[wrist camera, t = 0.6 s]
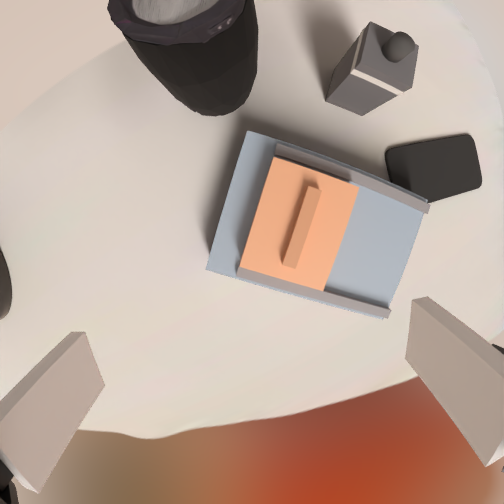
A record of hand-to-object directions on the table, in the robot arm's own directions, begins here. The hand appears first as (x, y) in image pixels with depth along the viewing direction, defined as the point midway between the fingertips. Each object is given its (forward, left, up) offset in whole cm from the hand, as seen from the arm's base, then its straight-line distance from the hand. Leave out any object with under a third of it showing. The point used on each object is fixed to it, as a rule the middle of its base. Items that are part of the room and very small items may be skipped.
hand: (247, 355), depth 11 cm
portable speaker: (-9, +16, -23) cm, 29 cm away
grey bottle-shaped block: (+5, +20, -23) cm, 31 cm away
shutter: (+3, +4, -19) cm, 19 cm away
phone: (+19, +16, -23) cm, 34 cm away
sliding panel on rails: (+6, +4, -23) cm, 24 cm away
